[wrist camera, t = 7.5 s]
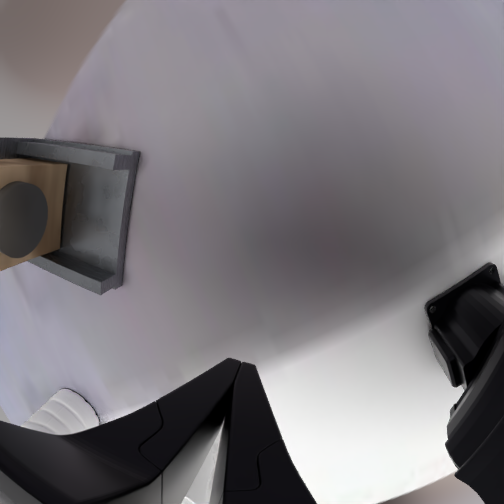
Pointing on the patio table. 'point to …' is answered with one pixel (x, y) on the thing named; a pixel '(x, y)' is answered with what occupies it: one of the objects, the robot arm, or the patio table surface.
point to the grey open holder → (86, 209)
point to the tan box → (30, 208)
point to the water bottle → (63, 415)
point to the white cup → (204, 478)
